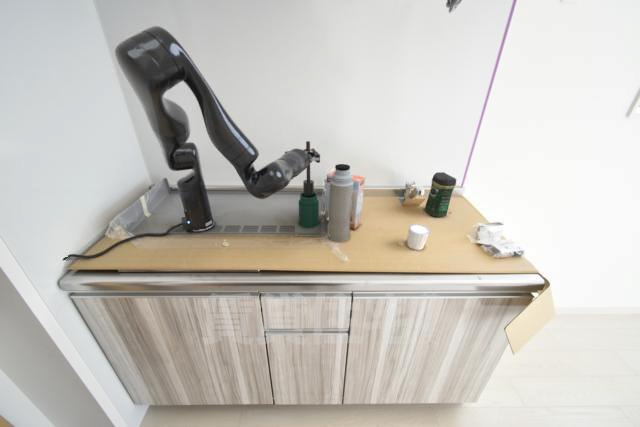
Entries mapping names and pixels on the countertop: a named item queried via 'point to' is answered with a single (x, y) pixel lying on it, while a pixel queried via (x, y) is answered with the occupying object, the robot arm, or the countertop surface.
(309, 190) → the bottle brush
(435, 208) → the coffee jar
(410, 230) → the white ribbed cup
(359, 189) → the cracker box
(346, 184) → the thermos bottle
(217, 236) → the countertop surface
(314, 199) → the green bottle
